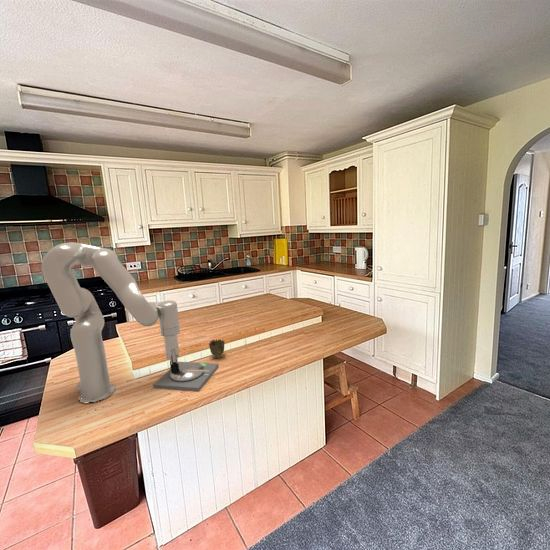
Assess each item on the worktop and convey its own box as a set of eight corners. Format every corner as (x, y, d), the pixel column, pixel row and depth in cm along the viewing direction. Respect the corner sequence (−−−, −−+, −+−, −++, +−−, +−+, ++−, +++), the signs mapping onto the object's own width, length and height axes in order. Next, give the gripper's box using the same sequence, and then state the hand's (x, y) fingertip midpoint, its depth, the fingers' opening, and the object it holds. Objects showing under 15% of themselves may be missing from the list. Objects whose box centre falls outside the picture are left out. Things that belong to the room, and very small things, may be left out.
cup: (222, 361, 139) (220, 345, 138) (207, 360, 141) (206, 344, 139) (227, 354, 146) (226, 339, 145) (214, 353, 148) (212, 338, 146)
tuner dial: (164, 381, 120) (162, 365, 119) (179, 364, 134) (178, 350, 133) (202, 382, 118) (201, 366, 117) (214, 365, 132) (213, 351, 130)
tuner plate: (153, 388, 119) (152, 384, 119) (178, 364, 138) (178, 361, 138) (198, 391, 115) (198, 387, 114) (218, 366, 134) (218, 363, 134)
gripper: (159, 325, 129) (164, 364, 133) (161, 338, 115) (167, 381, 118) (177, 322, 132) (181, 360, 135) (181, 334, 118) (186, 377, 121)
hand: (174, 370), depth 127 cm, fingers closed on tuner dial, 2 cm apart
